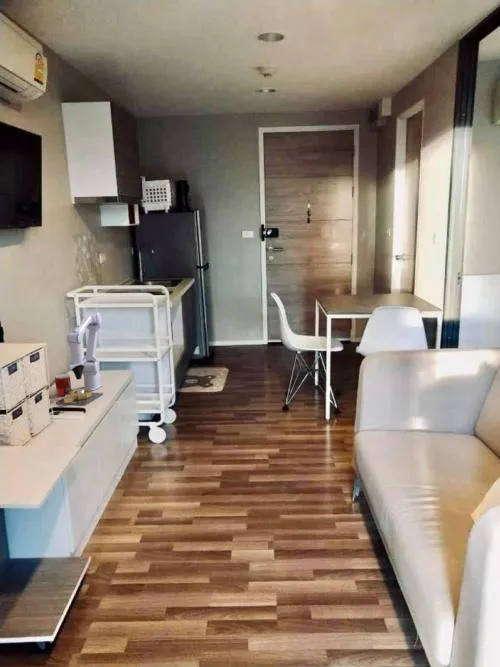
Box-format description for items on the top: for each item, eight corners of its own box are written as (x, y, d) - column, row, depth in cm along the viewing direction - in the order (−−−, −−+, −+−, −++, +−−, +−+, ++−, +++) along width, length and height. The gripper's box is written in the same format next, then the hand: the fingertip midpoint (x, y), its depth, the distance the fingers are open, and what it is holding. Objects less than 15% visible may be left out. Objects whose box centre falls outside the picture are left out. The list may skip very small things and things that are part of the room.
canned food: (67, 397, 275) (65, 377, 273) (53, 396, 277) (51, 377, 274) (74, 393, 282) (72, 373, 280) (61, 392, 284) (59, 373, 282)
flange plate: (75, 393, 281) (74, 385, 280) (103, 394, 277) (102, 386, 276) (56, 403, 264) (55, 395, 263) (85, 405, 260) (84, 397, 259)
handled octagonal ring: (79, 392, 278) (79, 388, 278) (95, 394, 274) (95, 389, 274) (57, 402, 263) (57, 397, 262) (74, 403, 259) (74, 399, 258)
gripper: (77, 351, 279) (79, 375, 281) (61, 357, 265) (64, 382, 267) (88, 351, 277) (91, 375, 280) (73, 358, 263) (76, 383, 266)
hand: (78, 379), depth 273 cm, fingers closed
